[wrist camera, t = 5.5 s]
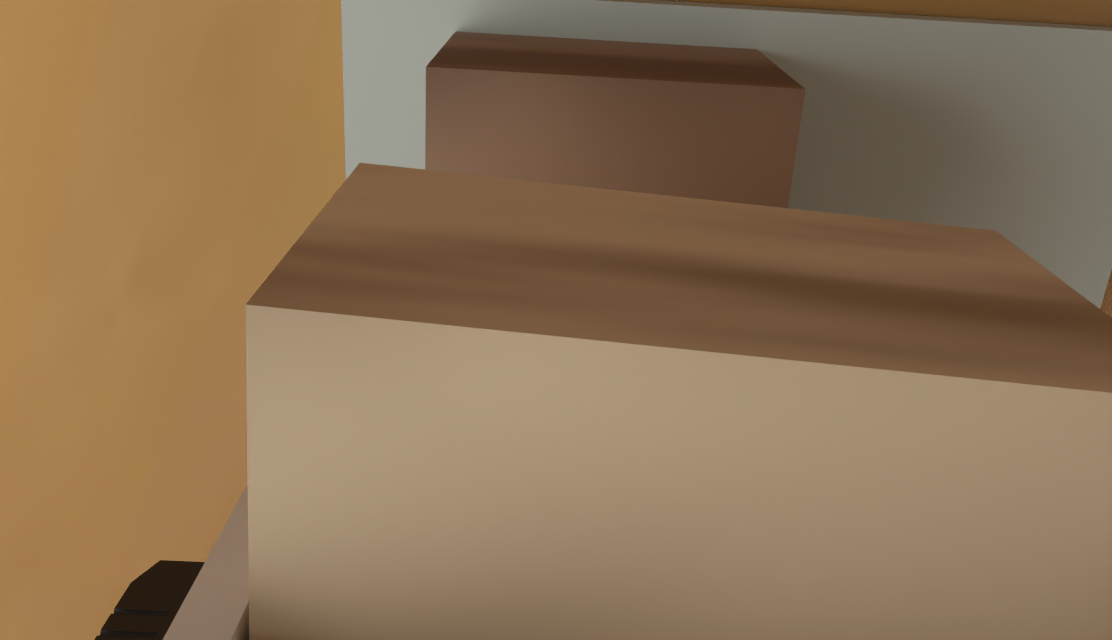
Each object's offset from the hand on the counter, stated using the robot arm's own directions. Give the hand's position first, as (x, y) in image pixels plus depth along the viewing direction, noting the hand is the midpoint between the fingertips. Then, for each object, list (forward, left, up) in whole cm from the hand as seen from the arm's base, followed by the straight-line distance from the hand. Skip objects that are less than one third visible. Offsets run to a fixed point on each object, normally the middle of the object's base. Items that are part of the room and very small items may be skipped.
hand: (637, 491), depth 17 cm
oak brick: (0, 0, 0) cm, 0 cm away
